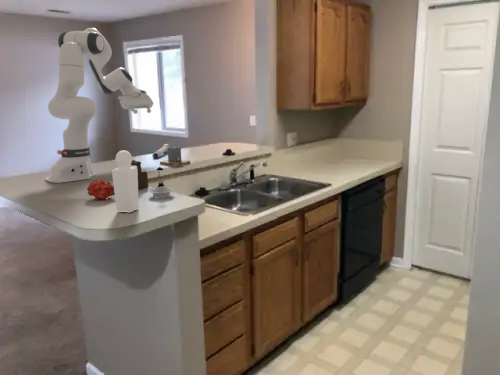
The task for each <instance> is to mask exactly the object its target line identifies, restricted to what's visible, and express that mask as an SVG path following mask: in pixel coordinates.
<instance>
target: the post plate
mask: <svg viewBox="0 0 500 375" xmlns="http://www.w3.org/2000/svg"><path fill="white" fill-rule="evenodd" d="M172 147H173V148H176V147H177V146H175V147H174V146H172ZM189 164H191V161H190V160H186V159H181V161H180V162H168V159H167V160H161V161H159V165H162V166H168V167H173V168H174V167H178V166H185V165H189Z"/></svg>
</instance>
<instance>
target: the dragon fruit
mask: <svg viewBox="0 0 500 375" xmlns="http://www.w3.org/2000/svg"><path fill="white" fill-rule="evenodd" d="M87 195H88V196H90V197H94V198H95V200H98V199H101V200H105V199H106V198H108V200H111V199H112V197H114V196H115V192H114V185H112V184H111V182H110V181H106V180H103V179H100V180H98V179H94V180H93V181H91V182H90V183H89V185H88V187H87Z"/></svg>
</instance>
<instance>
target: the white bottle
mask: <svg viewBox="0 0 500 375" xmlns="http://www.w3.org/2000/svg"><path fill="white" fill-rule="evenodd" d="M132 160H134V159H133V156H132V154H131V153H130V151H128V150H124V149H123V150H119V151H118V152H117V153H116V155H115V159H114V161H115V163H116V164H117V168H114V169H112V171H111V176H112V183H113V186H114V192H115V195H114V200H115V207H116V212H117V211H128V212H131V211H133V210H135V209H137V208H140V207H139V189H138V170H137V166H132V165H131V162H132Z"/></svg>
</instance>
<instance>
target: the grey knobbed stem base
mask: <svg viewBox="0 0 500 375" xmlns="http://www.w3.org/2000/svg"><path fill="white" fill-rule="evenodd" d="M156 171H158V174H157V176H158V179H159V178H160V179H159V180H157V184H158V185H157V186H156V187H154V188H153V187H152V188H150V189H148V192H149V193H151V194H152V197H153V198H154V197H157V198H162V199H164V198H163V197H168V196H171V192H173V191H175V189H174V188H173V187H168V186H165V184H164V180H162V179H161V177H160V176H161V175H160V171H164V168H163V167H161V166H159V167H157V168H156ZM157 198H156V199H157ZM168 198H169V197H168Z"/></svg>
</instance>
